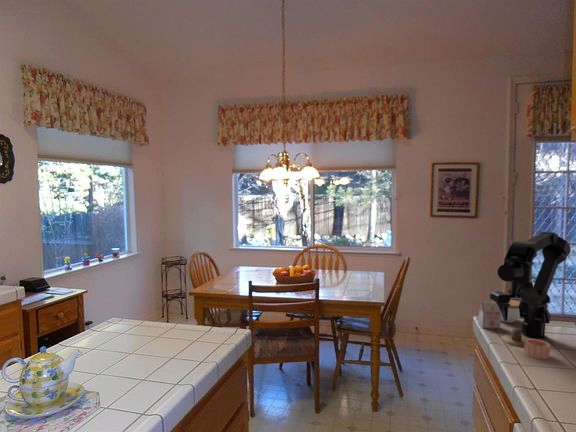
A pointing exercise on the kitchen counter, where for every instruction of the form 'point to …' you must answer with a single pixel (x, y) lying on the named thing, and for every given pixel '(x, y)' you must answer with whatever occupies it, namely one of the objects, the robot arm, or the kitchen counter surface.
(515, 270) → the robot arm
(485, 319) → the white red-printed box
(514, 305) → the lidded jar
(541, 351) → the bucket
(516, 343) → the lid
